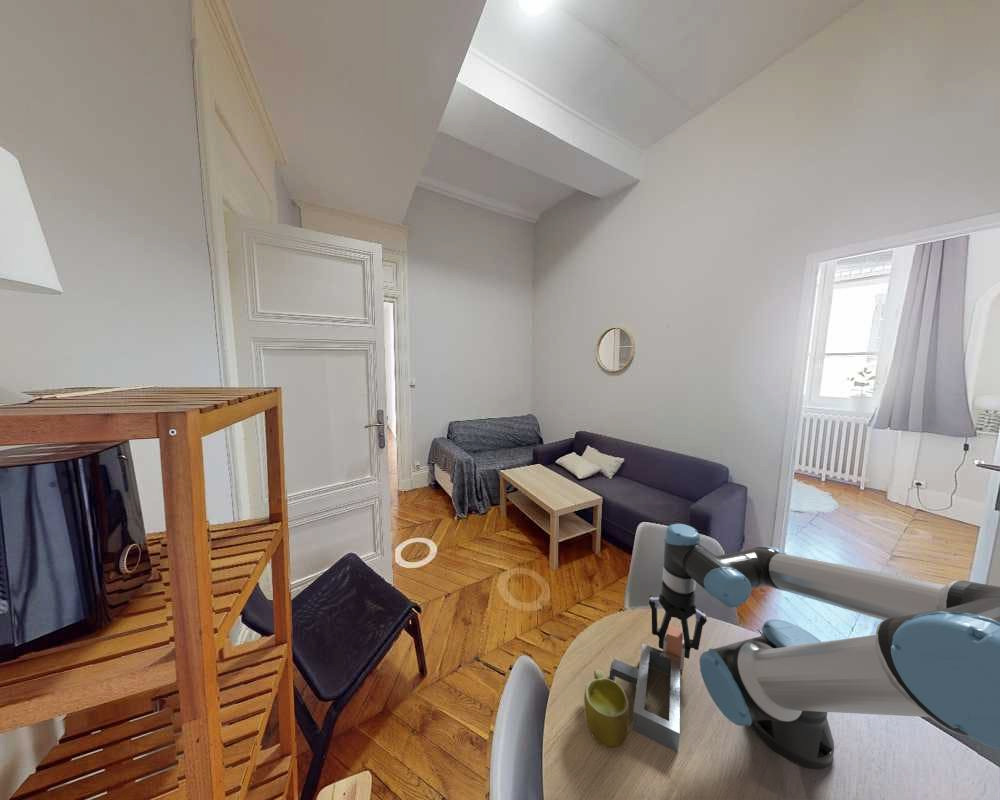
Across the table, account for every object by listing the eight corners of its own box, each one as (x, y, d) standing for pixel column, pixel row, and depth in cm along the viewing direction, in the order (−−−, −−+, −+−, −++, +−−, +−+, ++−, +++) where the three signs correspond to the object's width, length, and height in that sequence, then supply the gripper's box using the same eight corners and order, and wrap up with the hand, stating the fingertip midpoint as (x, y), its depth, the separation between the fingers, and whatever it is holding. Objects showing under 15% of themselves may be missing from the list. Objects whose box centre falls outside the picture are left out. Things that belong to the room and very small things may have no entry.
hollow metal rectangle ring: (678, 674, 86) (680, 657, 85) (678, 752, 70) (679, 733, 69) (616, 649, 93) (617, 633, 92) (602, 715, 77) (603, 697, 76)
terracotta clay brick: (680, 661, 89) (682, 629, 88) (679, 672, 86) (682, 639, 85) (665, 655, 91) (667, 623, 90) (665, 666, 88) (667, 633, 86)
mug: (641, 757, 67) (626, 705, 68) (591, 758, 70) (577, 709, 71) (633, 705, 79) (620, 662, 80) (591, 708, 82) (579, 666, 83)
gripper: (715, 585, 84) (707, 663, 88) (645, 565, 92) (641, 638, 96) (718, 605, 78) (710, 689, 82) (642, 582, 86) (638, 660, 89)
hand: (672, 661), depth 89 cm, fingers closed on terracotta clay brick, 3 cm apart
